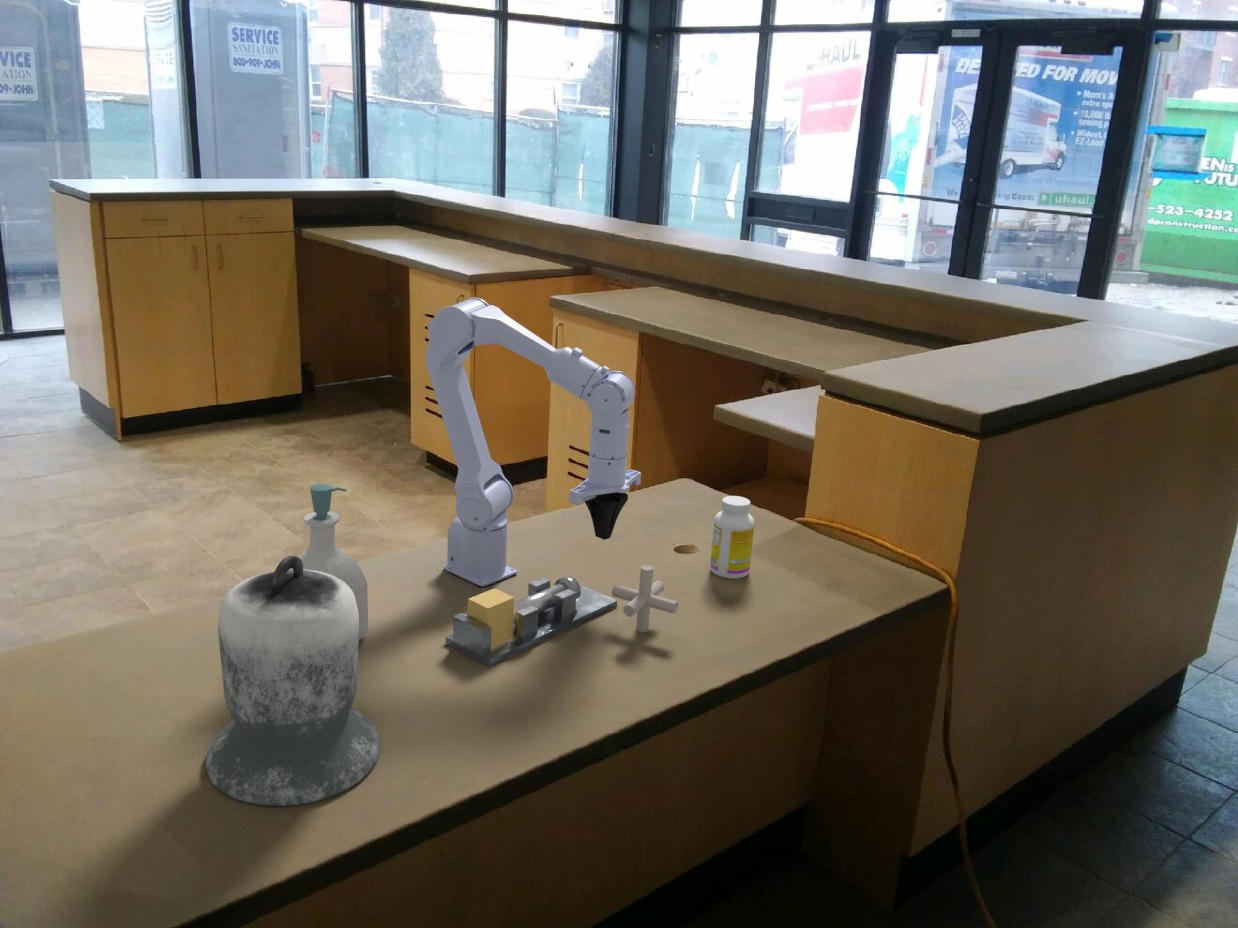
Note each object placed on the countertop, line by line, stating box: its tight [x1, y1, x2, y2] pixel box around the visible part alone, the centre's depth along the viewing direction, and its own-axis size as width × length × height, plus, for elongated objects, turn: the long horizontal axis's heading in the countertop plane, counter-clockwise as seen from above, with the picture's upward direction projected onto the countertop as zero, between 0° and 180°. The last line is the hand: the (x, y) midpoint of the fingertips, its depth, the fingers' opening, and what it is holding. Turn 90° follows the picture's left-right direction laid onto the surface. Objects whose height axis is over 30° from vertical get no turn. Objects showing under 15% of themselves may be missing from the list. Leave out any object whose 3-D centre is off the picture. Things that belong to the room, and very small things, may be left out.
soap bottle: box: [289, 483, 369, 641], centre depth 147 cm, size 10×10×23 cm
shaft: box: [513, 575, 581, 624], centre depth 158 cm, size 4×14×4 cm, turn 140°
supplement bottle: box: [709, 495, 755, 580], centre depth 179 cm, size 7×7×13 cm
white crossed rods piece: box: [611, 564, 679, 633], centre depth 158 cm, size 10×10×10 cm
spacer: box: [467, 588, 515, 645], centre depth 151 cm, size 4×5×6 cm
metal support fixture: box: [445, 576, 618, 667], centre depth 158 cm, size 9×27×5 cm, turn 140°
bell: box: [205, 555, 381, 807], centre depth 120 cm, size 19×19×25 cm
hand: (602, 536), depth 166 cm, fingers closed
